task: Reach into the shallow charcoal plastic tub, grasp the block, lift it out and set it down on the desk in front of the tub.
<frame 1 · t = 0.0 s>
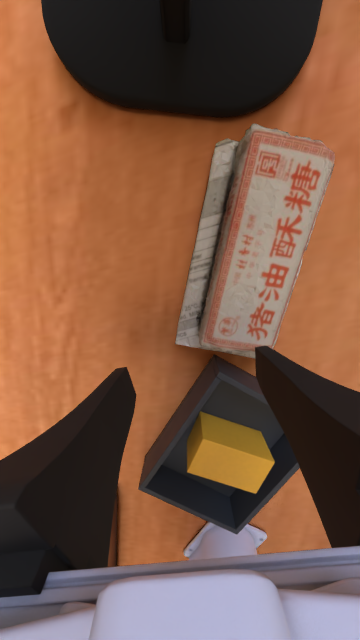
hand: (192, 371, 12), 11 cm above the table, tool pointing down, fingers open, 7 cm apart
tub: (222, 432, 25), on the table
sunglasses case: (91, 527, 30), on the table
block: (223, 436, 25), resting on tub
packaged product: (242, 263, 20), on the table
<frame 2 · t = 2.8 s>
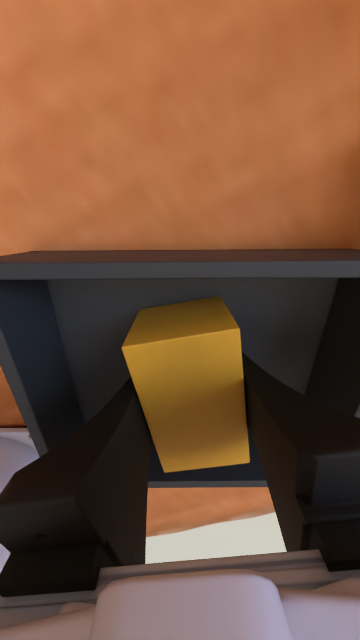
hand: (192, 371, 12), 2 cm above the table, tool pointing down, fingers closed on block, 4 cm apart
tub: (190, 355, 13), on the table
block: (190, 360, 13), resting on tub, touching gripper
when the fingers open (1 cm above the table, at t = 8.6 s): block stays where it is, on the table.
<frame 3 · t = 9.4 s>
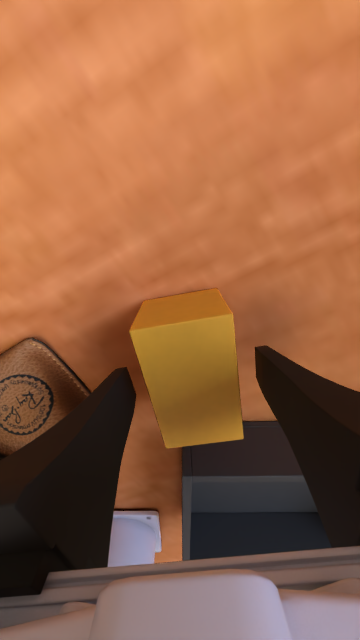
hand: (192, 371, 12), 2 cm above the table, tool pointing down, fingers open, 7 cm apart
tub: (270, 471, 19), on the table
block: (190, 348, 14), on the table
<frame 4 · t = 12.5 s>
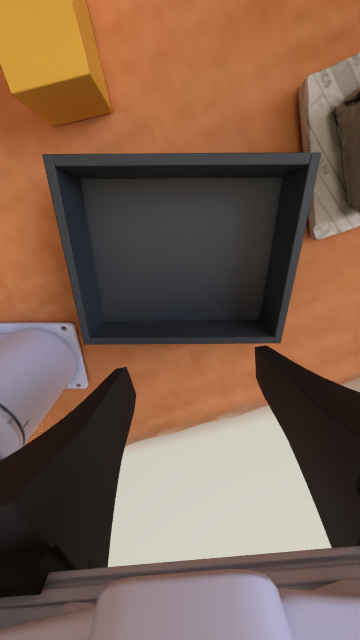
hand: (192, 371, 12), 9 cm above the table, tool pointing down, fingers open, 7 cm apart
tub: (181, 257, 18), on the table
block: (60, 42, 13), on the table
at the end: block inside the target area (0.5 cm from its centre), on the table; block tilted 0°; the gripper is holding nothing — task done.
